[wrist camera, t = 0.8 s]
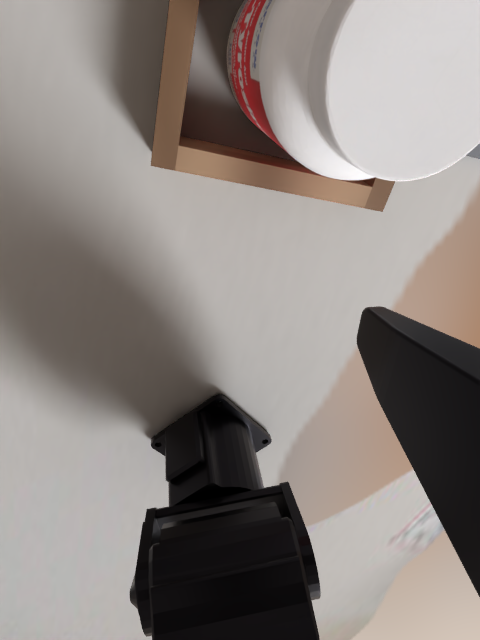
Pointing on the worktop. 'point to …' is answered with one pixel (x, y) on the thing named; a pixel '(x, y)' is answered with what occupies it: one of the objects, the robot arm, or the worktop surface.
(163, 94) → the rack
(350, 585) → the worktop surface
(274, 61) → the pill bottle
